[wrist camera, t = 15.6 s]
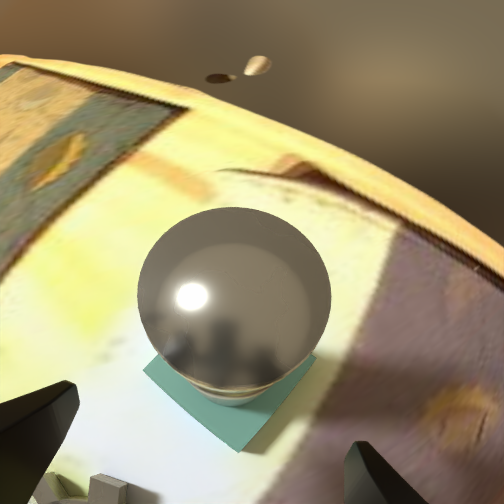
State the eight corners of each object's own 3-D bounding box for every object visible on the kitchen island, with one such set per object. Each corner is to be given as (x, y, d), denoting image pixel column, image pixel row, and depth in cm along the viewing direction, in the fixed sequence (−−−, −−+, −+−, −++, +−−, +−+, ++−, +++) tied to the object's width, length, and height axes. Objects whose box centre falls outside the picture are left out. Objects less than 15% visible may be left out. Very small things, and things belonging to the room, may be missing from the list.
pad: (311, 361, 18) (317, 357, 17) (238, 450, 15) (238, 453, 14) (223, 293, 20) (223, 285, 19) (147, 373, 17) (141, 369, 16)
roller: (286, 380, 16) (369, 316, 7) (215, 422, 15) (194, 426, 5) (244, 315, 18) (264, 183, 9) (175, 352, 17) (109, 252, 7)
